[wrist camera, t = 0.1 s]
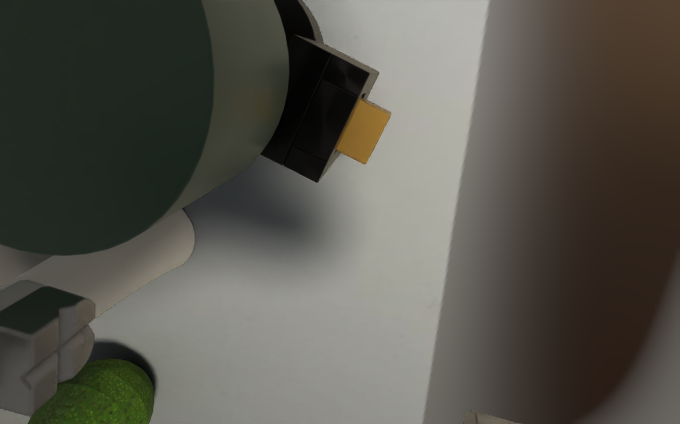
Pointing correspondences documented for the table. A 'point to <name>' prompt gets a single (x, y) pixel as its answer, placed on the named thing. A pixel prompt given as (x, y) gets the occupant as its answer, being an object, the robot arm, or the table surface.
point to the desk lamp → (156, 110)
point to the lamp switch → (363, 130)
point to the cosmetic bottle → (118, 264)
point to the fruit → (101, 396)
